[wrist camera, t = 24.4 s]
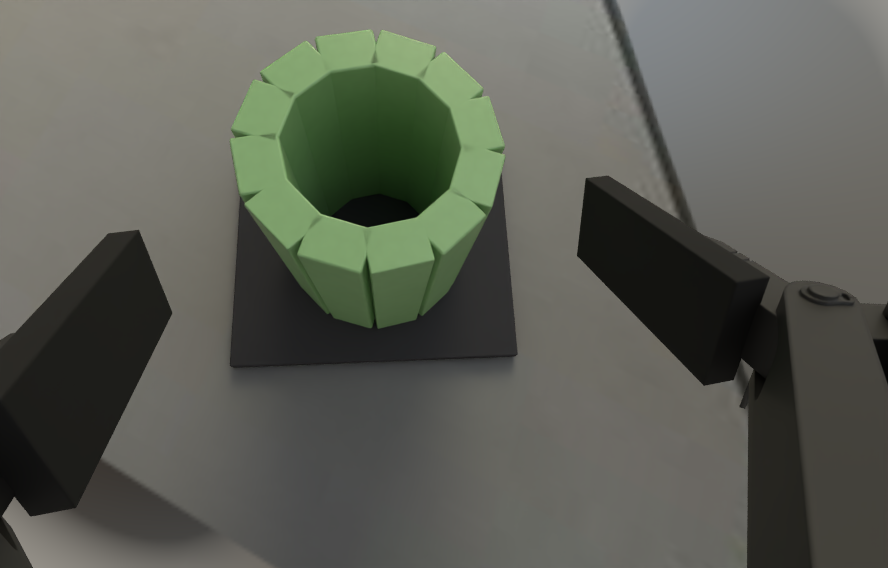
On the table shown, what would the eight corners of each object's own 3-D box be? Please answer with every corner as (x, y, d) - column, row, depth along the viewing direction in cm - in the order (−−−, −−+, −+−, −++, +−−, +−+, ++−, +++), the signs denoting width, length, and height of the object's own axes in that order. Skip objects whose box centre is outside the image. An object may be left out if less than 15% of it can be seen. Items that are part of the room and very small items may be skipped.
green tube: (257, 240, 24) (172, 130, 15) (381, 141, 27) (378, -11, 17) (373, 363, 24) (363, 329, 14) (492, 249, 26) (554, 153, 16)
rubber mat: (233, 367, 23) (229, 366, 23) (246, 145, 26) (243, 140, 26) (514, 356, 25) (518, 355, 24) (497, 149, 28) (499, 143, 27)
